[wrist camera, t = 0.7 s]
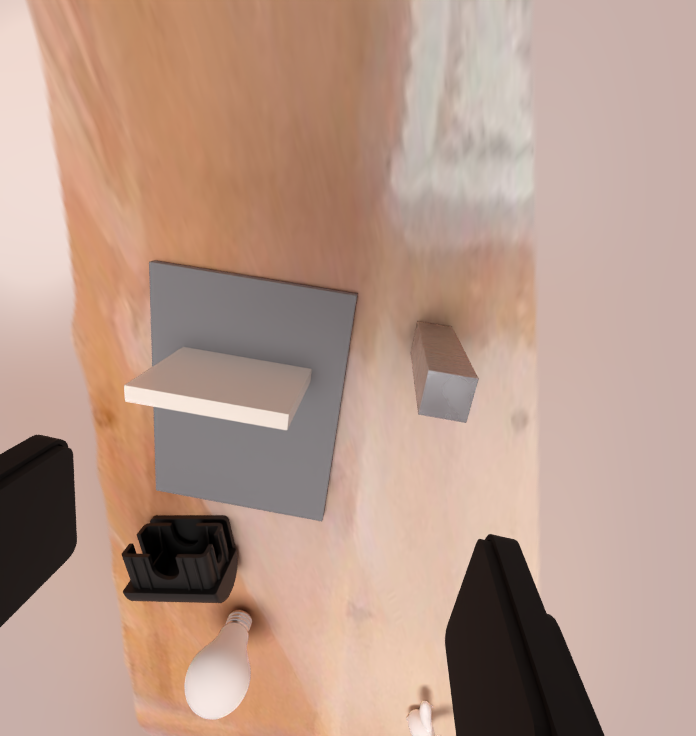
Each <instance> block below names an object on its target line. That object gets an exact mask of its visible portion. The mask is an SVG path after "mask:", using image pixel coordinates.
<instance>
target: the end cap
mask: <svg viewBox="0 0 696 736" xmlns="http://www.w3.org/2000/svg"><path fill="white" fill-rule="evenodd" d="M137 537H138V540H139V543H140V546H141V549H142V554H136V551H135V548H134V545H133V544H129V545H128V546H127V548H126V549H125V550H124V551H123V553H122V557H123V560H124V563H125V565H126V568H127V571H128V574H129V577H130V582H129V583H128V585H127V586H126V588H125V589H124V590H123V593H124V595H125V596H126V597H127V599H129V600H131V601H157V602H198V603H222V602H224V601H225V600H226V599H227V598H228V597H229V595H230V593H231V591H232V588H233V586H234V582H235V578H236V572H237V550H236V548H235V544H234V539H233V535H232V530H231V526H230V522H229V519H228V517H226V516H223V515H221V516H154V517H153V518H152V520H151V521H150V523H148V524H146V525H144V526H143V527H142V529H141V530H140V531H139V532H138V534H137Z"/></svg>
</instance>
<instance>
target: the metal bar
mask: <svg viewBox="0 0 696 736" xmlns="http://www.w3.org/2000/svg"><path fill="white" fill-rule="evenodd" d="M411 360H412V368H413V376H414V384H415V392H416V400H417V408H418V414H419V415H425V416H430V417H436V418H442V419H447V420H453V421H459V422H464V423H466V422H467V418H468V415H469V411H470V407H471V404H472V400H473V397H474V393H475V390H476V386H477V383H478V377H477V375H476V373H475V371H474V369H473V367H472V365H471V363H470V361H469V359H468V357H467V355H466V353H465V351H464V349H463V347H462V345H461V343H460V341H459V340H458V338H457V336H456V334H455V332H454V330H453V328H452V327H451V326H445V325H439V324H433V323H427V322H421V321H417V326H416V330H415V335H414V340H413V345H412V349H411Z"/></svg>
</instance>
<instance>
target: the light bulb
mask: <svg viewBox="0 0 696 736" xmlns="http://www.w3.org/2000/svg"><path fill="white" fill-rule="evenodd" d="M251 624H252V618H251V616H250V615H249V614H248V613H247V612H245V611H243V610H234V611H232V612H231V613H230V615H229V616H228V619H227V620H226V623H225V626H224V627H223V628H222V629H221V631H220V632H219V634H218V636H217V637H216V638H215V639H214V640H213V641H212V642H211V643H209V644H208V645H207V646H205V647H204V648H203V649H202V650H201V651H200V652H199V653H198V654H197V655H196V656H195V657H194V659H193V660H192V662H191V664H190V666H189V668H188V671H187V674H186V678H185V696H186V700H187V702H188V705H189V706H190V708H191V709H192V711H193V712H194V713H196V714H197V715H198V716H200V717H202V718H205V719H219V718H222V717H224V716H226V715H228V714H230V713H231V712H232V711H234V710H235V709H236V708H237V707H238V705H239V704H240V703H241V701H242V700H243V698H244V697H245V695H246V692H247V690H248V687H249V683H250V673H251V671H250V663H249V659H248V654H247V643H248V637H249V636H248V632H249V631H250V627H251Z"/></svg>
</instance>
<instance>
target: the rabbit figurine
mask: <svg viewBox="0 0 696 736" xmlns="http://www.w3.org/2000/svg"><path fill="white" fill-rule="evenodd" d="M431 707H432V708H433V705H431V704H429V703H428V701H424V700H423V701H422V702H421V704H420V709H419V710H418V709H414V710H412V711H410V713H409V716H408V717H407V721H408V725H409V729H410V732H411V734H412V736H441V735H435V733H434V729H433V725H432V720H431Z"/></svg>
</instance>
